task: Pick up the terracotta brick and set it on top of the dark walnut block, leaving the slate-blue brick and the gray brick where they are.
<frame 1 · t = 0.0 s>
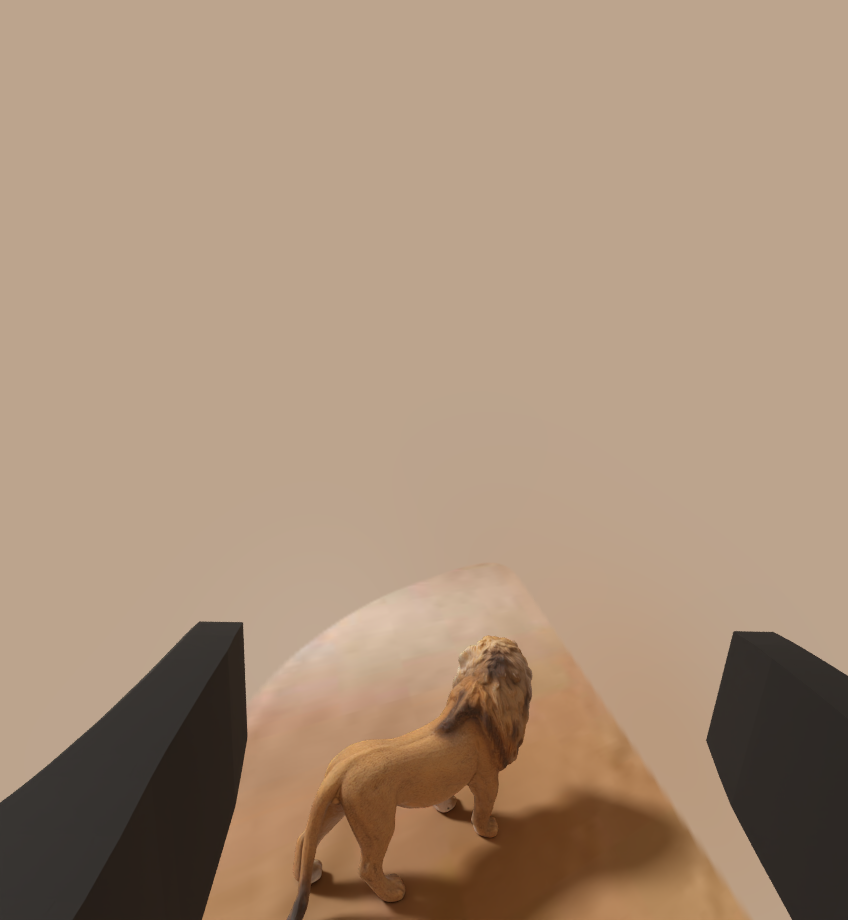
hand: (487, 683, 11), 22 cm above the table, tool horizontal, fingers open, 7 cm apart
lion figurine: (415, 838, 36), on the table
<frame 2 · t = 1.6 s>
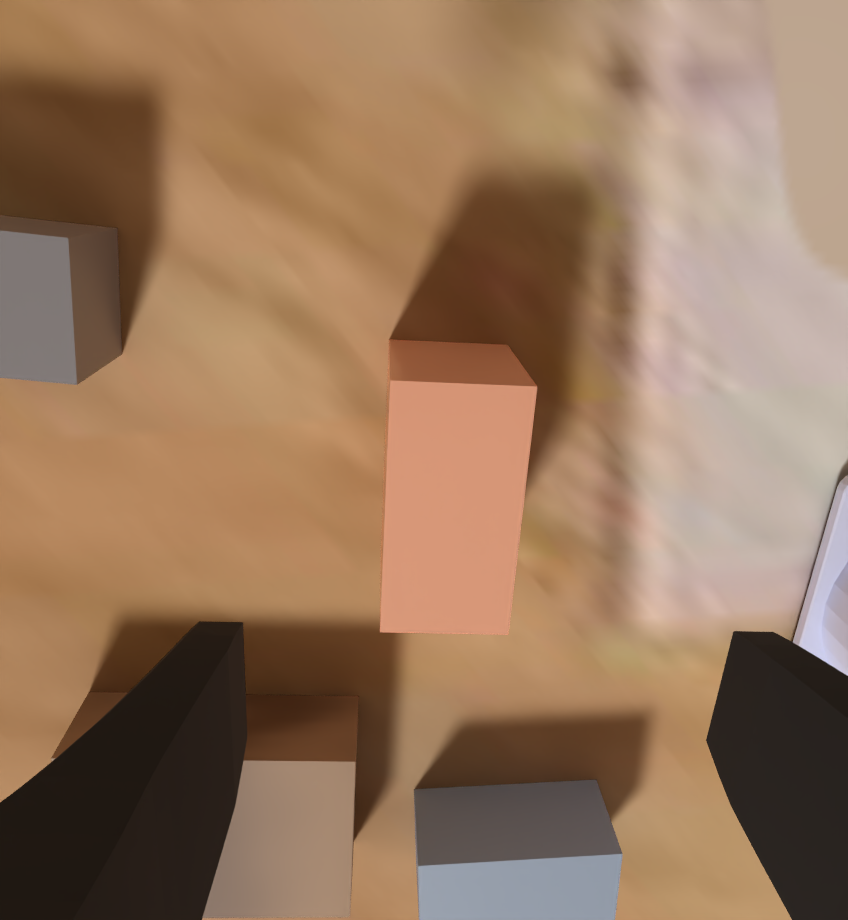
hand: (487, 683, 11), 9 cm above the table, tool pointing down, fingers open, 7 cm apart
terracotta brick: (440, 451, 20), on the table
slate-blue brick: (503, 814, 25), on the table
walnut block: (231, 763, 23), on the table
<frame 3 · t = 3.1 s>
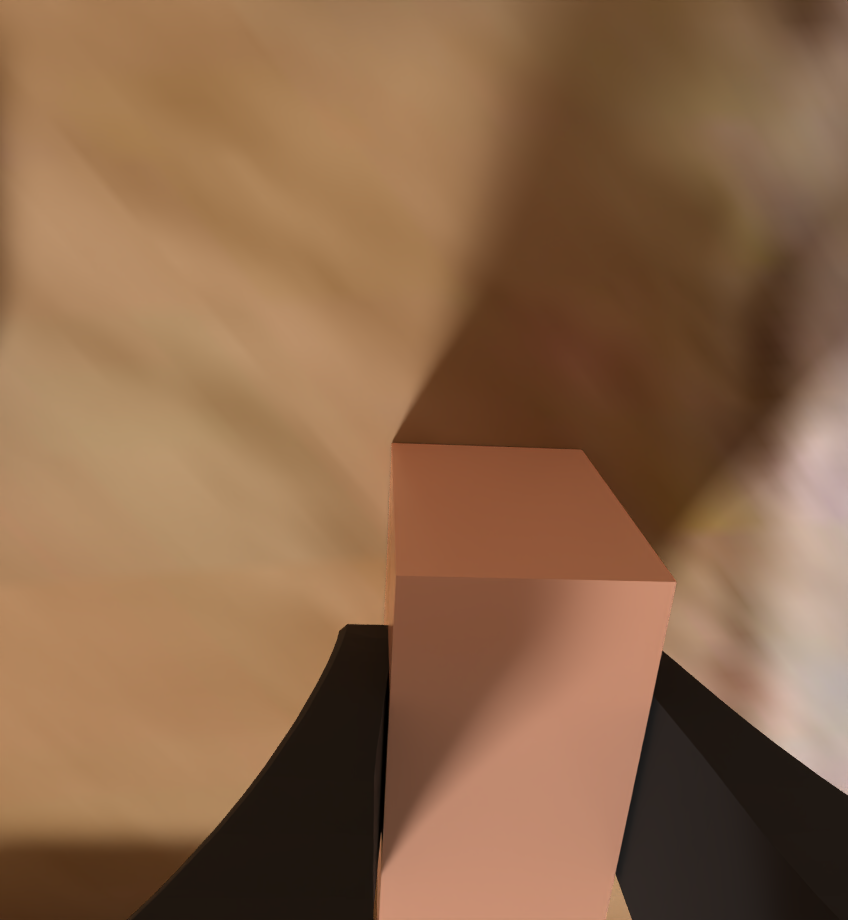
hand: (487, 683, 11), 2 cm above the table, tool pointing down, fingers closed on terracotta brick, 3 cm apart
terracotta brick: (472, 610, 12), on the table, touching gripper
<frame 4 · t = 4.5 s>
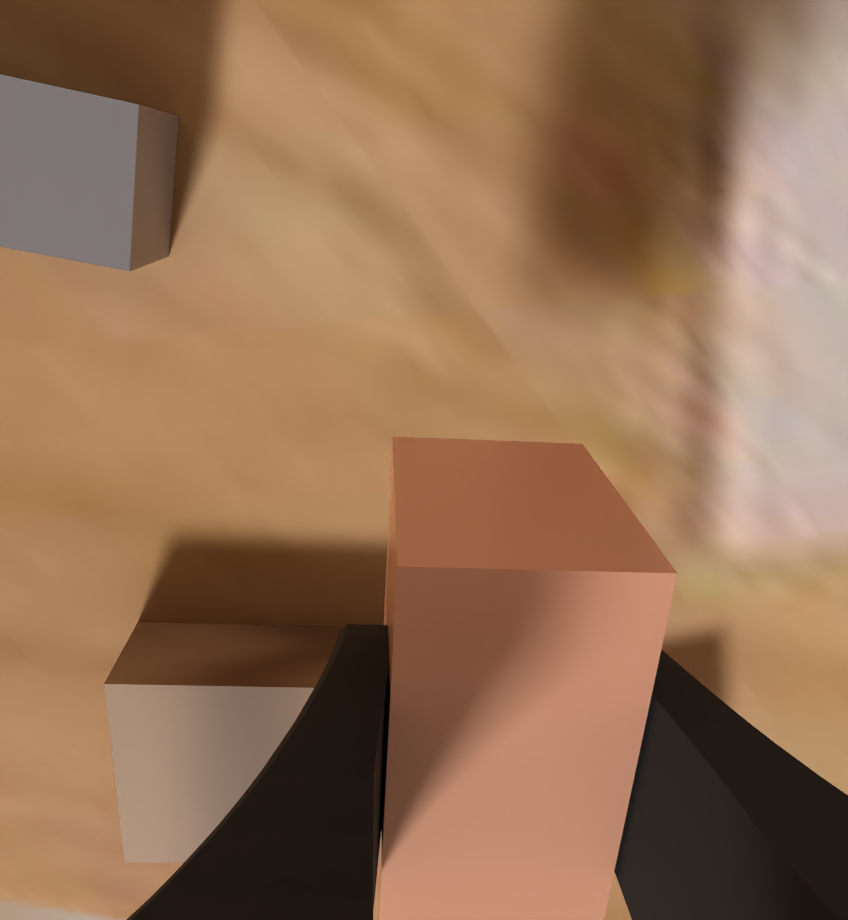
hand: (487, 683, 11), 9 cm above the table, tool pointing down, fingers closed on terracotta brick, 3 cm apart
gray brick: (37, 159, 16), on the table
terracotta brick: (472, 604, 12), point 7 cm above the table, touching gripper
walnut block: (284, 703, 22), on the table
when the fingers open (6 cm above the table, at t = 5.9 s): terracotta brick drops 1 cm, point 3 cm above the table.
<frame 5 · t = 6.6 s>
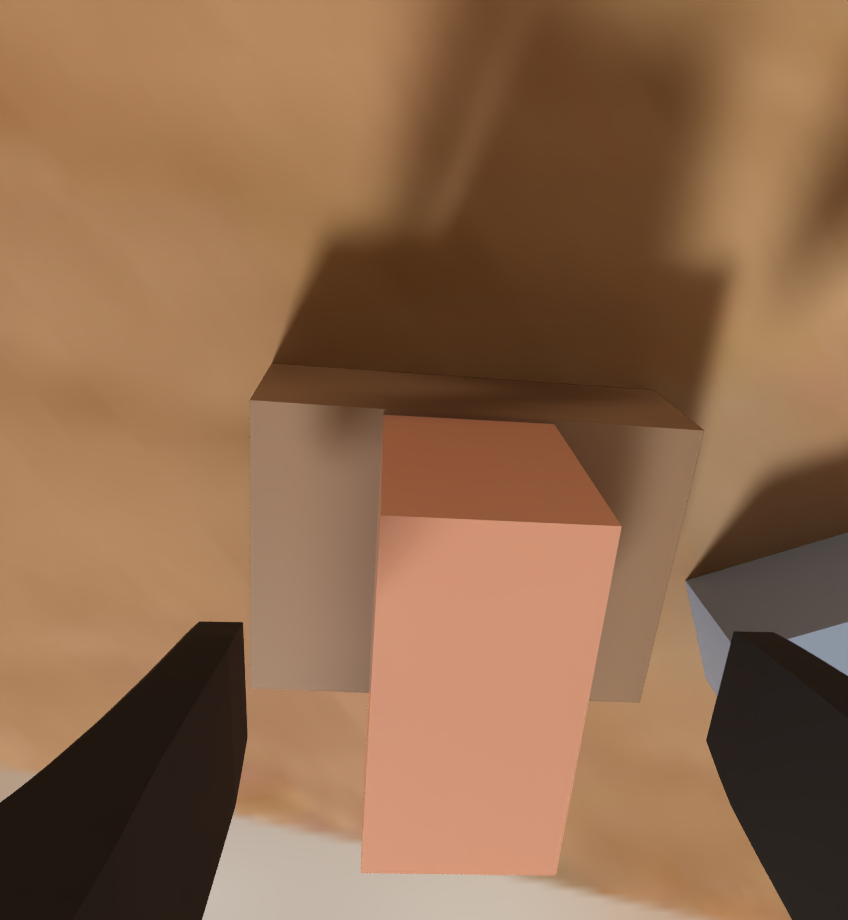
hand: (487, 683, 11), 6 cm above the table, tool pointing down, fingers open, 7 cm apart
terracotta brick: (454, 570, 14), point 3 cm above the table
slate-blue brick: (813, 591, 18), on the table
walnut block: (451, 500, 17), on the table
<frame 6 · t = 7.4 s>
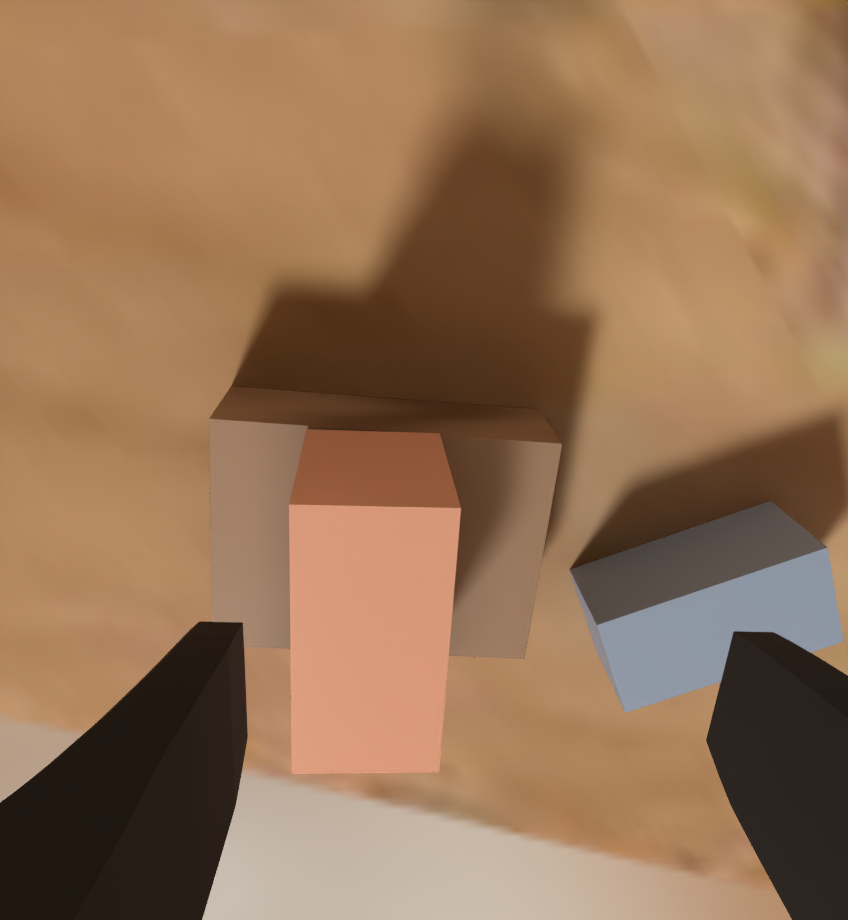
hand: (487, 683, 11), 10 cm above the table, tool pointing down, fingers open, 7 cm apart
terracotta brick: (369, 549, 18), point 3 cm above the table, touching walnut block
slate-blue brick: (677, 574, 22), on the table
walnut block: (379, 497, 20), on the table, touching terracotta brick
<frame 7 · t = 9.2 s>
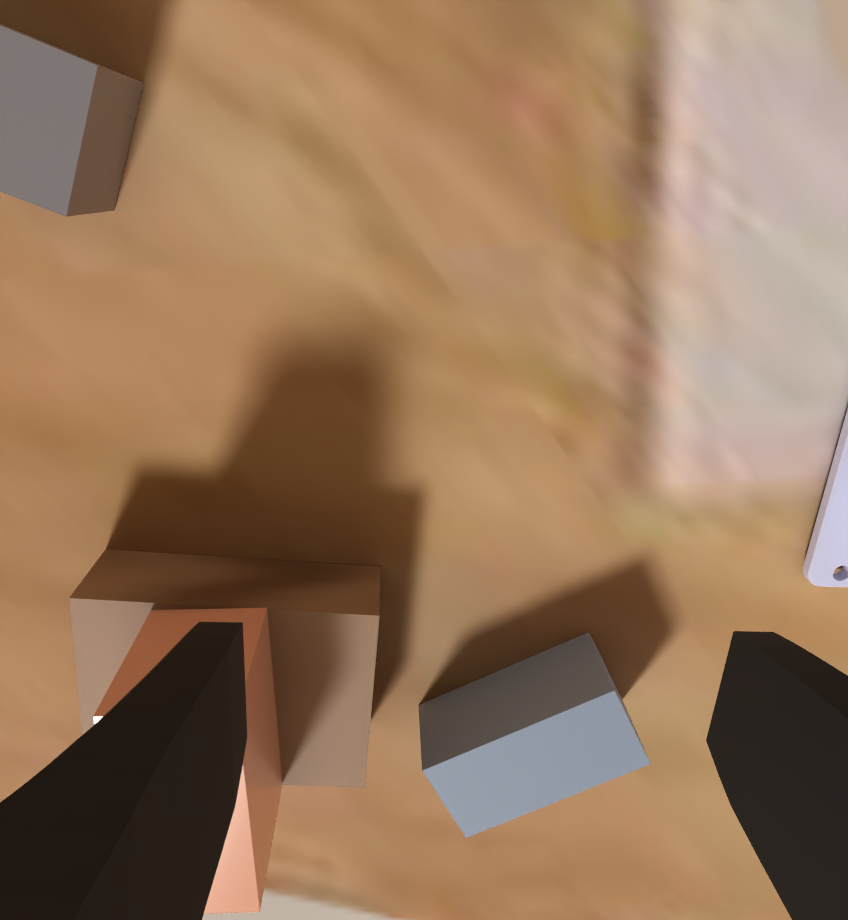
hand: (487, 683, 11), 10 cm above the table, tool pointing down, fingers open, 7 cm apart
gray brick: (2, 97, 17), on the table
terracotta brick: (220, 701, 20), point 3 cm above the table, touching walnut block
slate-blue brick: (520, 698, 24), on the table
walnut block: (246, 635, 23), on the table, touching terracotta brick
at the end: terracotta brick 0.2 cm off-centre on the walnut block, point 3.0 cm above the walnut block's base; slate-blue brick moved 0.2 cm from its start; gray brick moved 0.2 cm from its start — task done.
